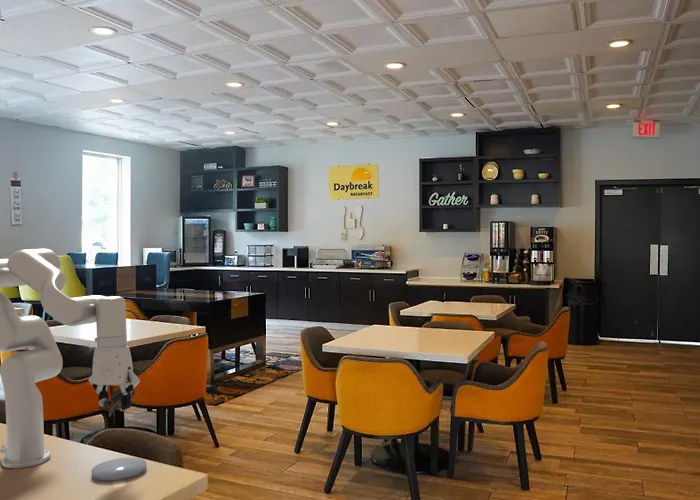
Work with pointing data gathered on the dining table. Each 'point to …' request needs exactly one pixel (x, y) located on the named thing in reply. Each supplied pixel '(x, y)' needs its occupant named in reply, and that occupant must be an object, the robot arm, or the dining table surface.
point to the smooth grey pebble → (118, 469)
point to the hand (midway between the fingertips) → (115, 407)
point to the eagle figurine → (113, 402)
